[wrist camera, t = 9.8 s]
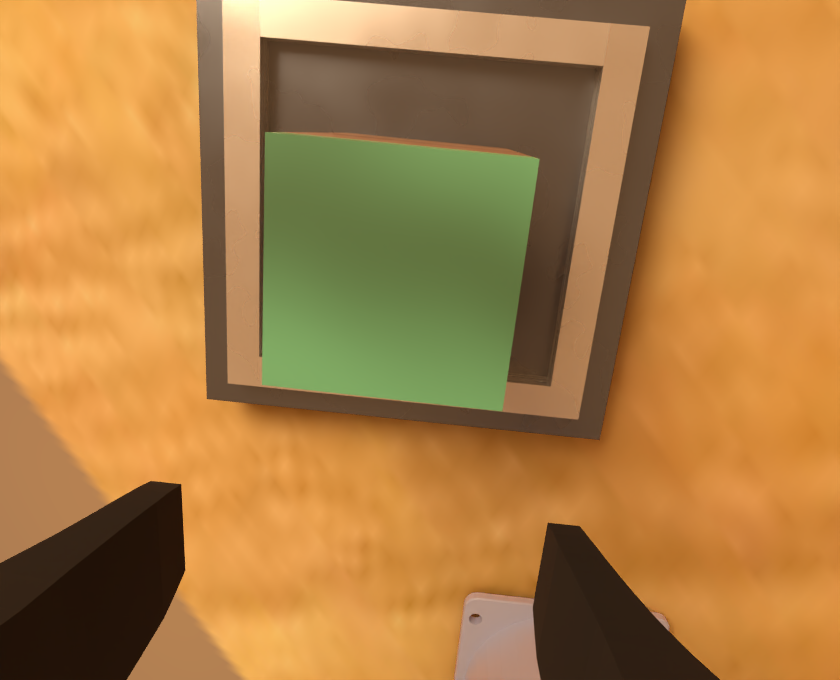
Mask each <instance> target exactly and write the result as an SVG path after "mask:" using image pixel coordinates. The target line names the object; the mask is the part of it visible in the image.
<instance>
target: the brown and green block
mask: <svg viewBox="0 0 840 680" xmlns="http://www.w3.org/2000/svg"><path fill="white" fill-rule="evenodd" d="M539 160H540V159H538V158H535V157H532V156H529V155H526V154H522V153H519V152H516V151H513V150H510V149H507V148H499V147H489V146H479V145H469V144H459V143H448V142H438V141H428V140H418V139H408V138H397V137H387V136H377V135H367V134H357V133H326V132H265V176H264V257H263V337H262V385H267V386H276V387H285V388H294V389H303V390H312V391H321V392H330V393H339V394H348V395H358V396H367V397H376V398H385V399H394V400H403V401H412V402H421V403H430V404H439V405H448V406H457V407H466V408H475V409H484V410H494V411H502V410H503V404H504V397H505V390H506V383H507V376H508V370H509V363H510V356H511V349H512V343H513V336H514V329H515V322H516V316H517V309H518V302H519V295H520V288H521V282H522V275H523V268H524V261H525V255H526V248H527V241H528V234H529V228H530V221H531V214H532V207H533V201H534V194H535V187H536V180H537V173H538V167H539Z"/></svg>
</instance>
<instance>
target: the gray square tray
mask: <svg viewBox="0 0 840 680" xmlns="http://www.w3.org/2000/svg"><path fill="white" fill-rule="evenodd" d="M196 1H197V39H198V77H199V115H200V154H201V192H202V230H203V268H204V306H205V344H206V382H207V399H213V400H222V401H232V402H241V403H251V404H261V405H270V406H280V407H289V408H299V409H309V410H318V411H328V412H337V413H347V414H356V415H366V416H376V417H385V418H395V419H404V420H414V421H424V422H433V423H443V424H452V425H462V426H471V427H481V428H491V429H500V430H510V431H519V432H529V433H539V434H548V435H558V436H567V437H577V438H587V439H596V440H600V435H601V430H602V425H603V420H604V415H605V410H606V405H607V400H608V395H609V389H610V384H611V379H612V374H613V369H614V364H615V359H616V354H617V349H618V344H619V339H620V334H621V329H622V324H623V318H624V313H625V308H626V303H627V298H628V293H629V288H630V283H631V278H632V273H633V268H634V263H635V258H636V253H637V247H638V242H639V237H640V232H641V227H642V222H643V217H644V212H645V207H646V202H647V197H648V192H649V187H650V182H651V176H652V171H653V166H654V161H655V156H656V151H657V146H658V141H659V136H660V131H661V126H662V121H663V116H664V111H665V105H666V100H667V95H668V90H669V85H670V80H671V75H672V70H673V65H674V60H675V55H676V50H677V45H678V40H679V34H680V29H681V24H682V19H683V14H684V9H685V4H686V0H196ZM265 132H326V133H357V134H367V135H377V136H387V137H397V138H408V139H418V140H428V141H438V142H448V143H459V144H469V145H479V146H489V147H499V148H507V149H510V150H513V151H516V152H519V153H522V154H526V155H529V156H532V157H535V158H538V159H540V160H539V167H538V173H537V180H536V187H535V194H534V201H533V207H532V214H531V221H530V228H529V234H528V241H527V248H526V255H525V261H524V268H523V275H522V282H521V288H520V295H519V302H518V309H517V316H516V322H515V329H514V336H513V343H512V349H511V356H510V363H509V370H508V376H507V383H506V390H505V397H504V404H503V410H502V411H494V410H484V409H475V408H466V407H457V406H448V405H439V404H430V403H421V402H412V401H403V400H394V399H385V398H376V397H367V396H358V395H348V394H339V393H330V392H321V391H312V390H303V389H294V388H285V387H276V386H267V385H262V337H263V257H264V176H265Z"/></svg>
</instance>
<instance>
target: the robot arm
mask: <svg viewBox="0 0 840 680" xmlns="http://www.w3.org/2000/svg"><path fill="white" fill-rule="evenodd" d="M184 572H185V554H184V534H183V513H182V492H181V484H173V483H164V482H154V481H150V482H148V483H146V484H144V485H142V486H140V487H138V488H136V489H134V490H133V491H131V492H129V493H127V494H125V495H124V496H122V497H120V498H118V499H117V500H115V501H113V502H111V503H110V504H108V505H106V506H105V507H103V508H101V509H99V510H98V511H96V512H94V513H92V514H91V515H89V516H87V517H85V518H84V519H82V520H80V521H78V522H77V523H75V524H73V525H71V526H69V527H68V528H66V529H64V530H62V531H61V532H59V533H57V534H55V535H54V536H52V537H50V538H48V539H46V540H44V541H42V542H40V543H38V544H36V545H34V546H32V547H31V548H29V549H27V550H25V551H23V552H21V553H19V554H17V555H15V556H13V557H11V558H10V559H7V560H5V561H4V562H2V563H0V680H127V678H128V676H129V675H130V673H131V672H132V670H133V668H134V667H135V665H136V663H137V662H138V660H139V659H140V657H141V655H142V654H143V652H144V650H145V649H146V647H147V645H148V644H149V642H150V640H151V639H152V637H153V636H154V634H155V632H156V631H157V629H158V627H159V625H160V624H161V622H162V620H163V619H164V616H165V615H166V612H167V610H168V608H169V606H170V604H171V602H172V599H173V597H174V595H175V593H176V591H177V588H178V586H179V584H180V581H181V579H182V577H183V574H184ZM472 614H478V615H480V616H479V617H472V616H471V615H472ZM454 680H720V679H719V678H718V677H716V676H715V675H714V674H713V673H712V672H711V671H710V670H709V669H708V668H706V667H705V666H704V665H703V664H702V663H701V662H700V661H699V660H698V659H696V658H695V657H694V656H693V655H692V654H691V653H690V652H689V651H688V650H687V649H686V648H685V647H684V646H683V645H682V644H681V643H680V642H679V641H678V640H677V639H676V638H675V637H674V636H673V635H672V634H671V633H670V632H669V624H668V621H667V619H666V617H665V616H664V615H662V614H660V613H657V612H650V611H649V610H648V609H647V607H646V606H645V605H644V604H643V603H642V602H641V601H640V600H639V598H638V597H637V596H636V595H635V594H634V593H633V592H632V590H631V589H630V588H629V587H628V586H627V585H626V583H625V582H624V581H623V580H622V579H621V577H620V576H619V575H618V574H617V572H616V571H615V570H614V569H613V567H612V566H611V565H610V564H609V563H608V561H607V560H606V559H605V558H604V556H603V555H602V554H601V552H600V551H599V550H598V549H597V547H596V546H595V545H594V544H593V542H592V541H591V540H590V539H589V537H588V536H587V535H586V534H585V532H584V531H583V530H582V529H581V527H580V526H573V525H563V524H554V523H548V525H547V531H546V536H545V542H544V547H543V553H542V559H541V564H540V570H539V575H538V581H537V586H536V592H535V598H534V599H532V598H524V597H515V596H506V595H497V594H488V593H479V592H476V593H471V594H469V595H468V596H467V597H466V598H465V600H464V606H463V614H462V622H461V629H460V637H459V644H458V652H457V659H456V667H455V675H454Z"/></svg>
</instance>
